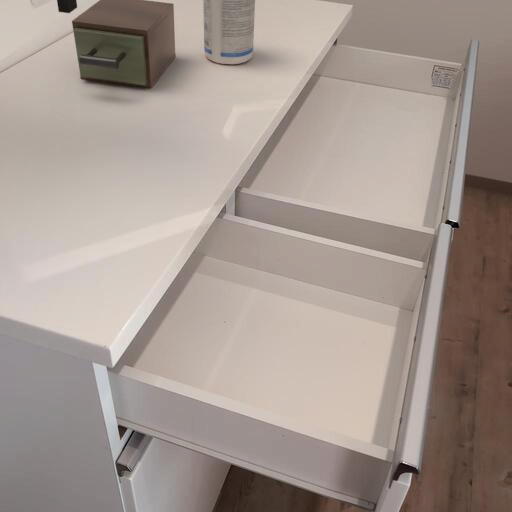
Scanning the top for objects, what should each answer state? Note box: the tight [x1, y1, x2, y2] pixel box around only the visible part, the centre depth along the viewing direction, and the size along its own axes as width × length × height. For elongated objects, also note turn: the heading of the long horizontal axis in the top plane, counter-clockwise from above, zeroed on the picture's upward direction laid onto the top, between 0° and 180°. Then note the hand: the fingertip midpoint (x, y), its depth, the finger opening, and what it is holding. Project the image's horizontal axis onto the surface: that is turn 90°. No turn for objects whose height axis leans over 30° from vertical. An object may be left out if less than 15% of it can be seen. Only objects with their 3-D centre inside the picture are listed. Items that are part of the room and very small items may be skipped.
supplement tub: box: [202, 0, 256, 65], centre depth 102 cm, size 10×10×15 cm
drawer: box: [72, 28, 147, 85], centre depth 94 cm, size 19×12×8 cm, turn 170°
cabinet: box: [71, 0, 176, 89], centre depth 97 cm, size 15×13×10 cm
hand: (68, 9), depth 75 cm, fingers closed
